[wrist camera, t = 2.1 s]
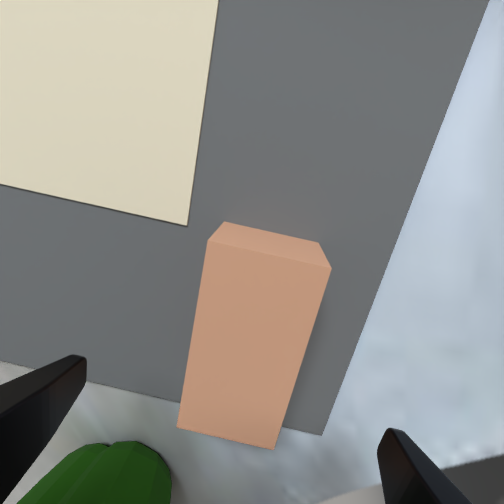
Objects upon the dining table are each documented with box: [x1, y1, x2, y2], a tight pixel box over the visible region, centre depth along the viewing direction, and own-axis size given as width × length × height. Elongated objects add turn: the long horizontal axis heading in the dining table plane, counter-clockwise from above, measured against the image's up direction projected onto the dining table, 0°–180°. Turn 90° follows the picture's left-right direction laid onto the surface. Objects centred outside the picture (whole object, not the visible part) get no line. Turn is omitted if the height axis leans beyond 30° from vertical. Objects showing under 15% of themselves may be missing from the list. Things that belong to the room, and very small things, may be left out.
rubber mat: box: [0, 0, 489, 436], centre depth 12 cm, size 20×18×1 cm
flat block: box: [177, 222, 332, 450], centre depth 12 cm, size 8×4×3 cm, turn 168°
